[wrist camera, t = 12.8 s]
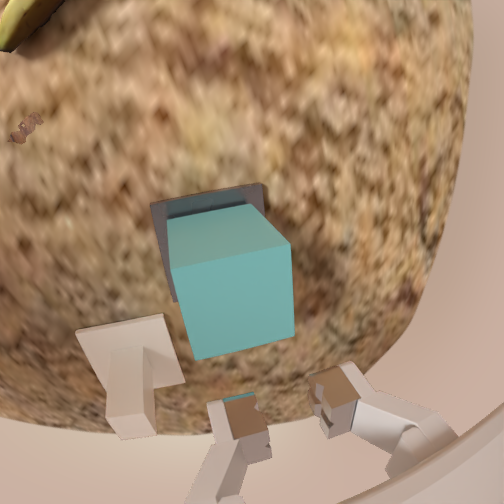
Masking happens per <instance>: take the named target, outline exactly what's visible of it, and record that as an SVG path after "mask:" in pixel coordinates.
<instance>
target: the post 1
mask: <svg viewBox="0 0 504 504" xmlns="http://www.w3.org/2000/svg"><path fill="white" fill-rule="evenodd" d="M75 335H76V337H77V339H78V341H79V343H80V345H81V347H82V349H83V351H84V353H85V355H86V357H87V359H88V360H89V362H90V364H91V366H92V368H93V370H94V372H95V373H96V375H97V377H98V379H99V380H100V382H101V384H102V386H103V387H104V389H105V391H106V393H107V400H106V415H105V418H106V420H107V421H108V423H109V424H110V426H111V427H112V428H113V430H114V431H115V432H116V434H117V435H118V436H119V438H120V439H121V440H126V439H134V438H142V437H149V436H156V435H157V428H156V416H155V402H154V389H156V388H161V387H167V386H172V385H177V384H182V383H186V382H185V378H184V375H183V372H182V369H181V366H180V364H179V361H178V358H177V355H176V352H175V349H174V346H173V343H172V340H171V337H170V334H169V331H168V328H167V324H166V321H165V318H164V315H163V313H161V314H156V315H151V316H146V317H141V318H136V319H131V320H126V321H121V322H116V323H111V324H106V325H100V326H95V327H90V328H84V329H79V330H76V332H75Z"/></svg>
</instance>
